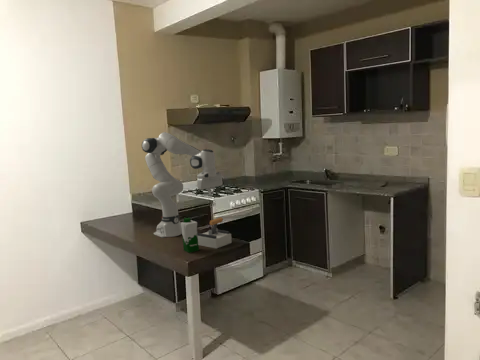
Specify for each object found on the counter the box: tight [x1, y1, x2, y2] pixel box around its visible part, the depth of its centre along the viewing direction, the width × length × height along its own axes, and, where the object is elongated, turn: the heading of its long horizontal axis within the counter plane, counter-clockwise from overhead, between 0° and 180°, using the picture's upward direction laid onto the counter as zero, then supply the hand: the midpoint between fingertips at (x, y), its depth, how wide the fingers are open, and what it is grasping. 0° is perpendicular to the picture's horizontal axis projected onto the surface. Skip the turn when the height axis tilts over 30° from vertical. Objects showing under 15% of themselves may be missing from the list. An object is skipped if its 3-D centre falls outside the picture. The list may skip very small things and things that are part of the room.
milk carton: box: [180, 217, 200, 254], centre depth 246 cm, size 9×9×20 cm
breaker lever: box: [209, 216, 224, 235], centre depth 256 cm, size 2×10×10 cm, turn 139°
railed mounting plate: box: [197, 228, 231, 239], centre depth 258 cm, size 16×13×1 cm
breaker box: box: [198, 228, 233, 250], centre depth 259 cm, size 18×14×10 cm
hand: (211, 194), depth 269 cm, fingers closed
